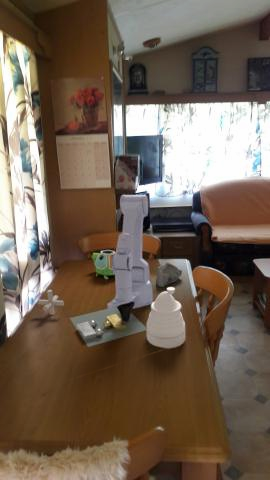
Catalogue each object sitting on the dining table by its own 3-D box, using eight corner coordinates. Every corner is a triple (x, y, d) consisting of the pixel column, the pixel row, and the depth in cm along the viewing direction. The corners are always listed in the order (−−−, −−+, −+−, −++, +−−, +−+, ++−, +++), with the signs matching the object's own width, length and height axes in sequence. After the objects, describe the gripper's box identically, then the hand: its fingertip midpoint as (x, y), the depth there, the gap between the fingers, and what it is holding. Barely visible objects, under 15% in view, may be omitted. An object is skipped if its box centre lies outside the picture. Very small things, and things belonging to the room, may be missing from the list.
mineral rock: (181, 277, 170) (181, 257, 167) (185, 286, 159) (185, 265, 157) (154, 279, 169) (153, 259, 166) (157, 288, 159) (156, 267, 156)
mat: (123, 305, 144) (122, 304, 144) (148, 330, 125) (148, 329, 125) (69, 318, 135) (69, 318, 135) (88, 347, 116) (88, 346, 116)
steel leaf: (103, 336, 122) (103, 330, 121) (85, 341, 119) (84, 335, 118) (94, 324, 129) (94, 318, 129) (77, 329, 127) (76, 323, 126)
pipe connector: (59, 321, 133) (56, 297, 131) (34, 319, 135) (31, 295, 133) (69, 309, 143) (66, 286, 140) (45, 307, 145) (43, 285, 142)
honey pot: (188, 330, 124) (188, 282, 119) (180, 351, 112) (180, 298, 107) (152, 325, 128) (151, 278, 123) (141, 345, 116) (139, 294, 111)
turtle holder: (104, 266, 189) (102, 244, 186) (127, 274, 177) (126, 251, 173) (85, 272, 181) (83, 250, 178) (108, 281, 168) (106, 257, 165)
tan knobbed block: (126, 329, 125) (126, 323, 124) (109, 334, 122) (108, 328, 122) (116, 318, 133) (116, 313, 132) (100, 323, 130) (99, 317, 130)
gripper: (130, 277, 133) (132, 310, 137) (100, 289, 123) (103, 324, 127) (144, 282, 128) (145, 316, 132) (114, 295, 119) (116, 331, 122)
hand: (125, 320), depth 129 cm, fingers closed
